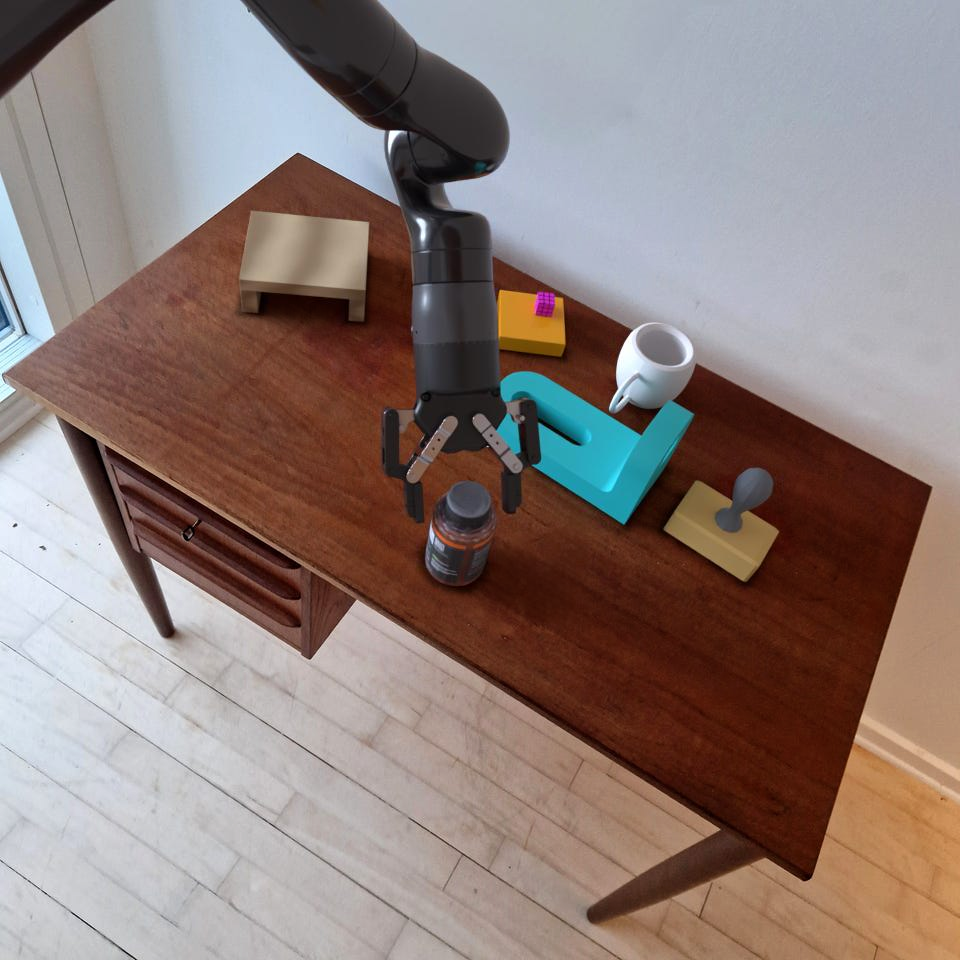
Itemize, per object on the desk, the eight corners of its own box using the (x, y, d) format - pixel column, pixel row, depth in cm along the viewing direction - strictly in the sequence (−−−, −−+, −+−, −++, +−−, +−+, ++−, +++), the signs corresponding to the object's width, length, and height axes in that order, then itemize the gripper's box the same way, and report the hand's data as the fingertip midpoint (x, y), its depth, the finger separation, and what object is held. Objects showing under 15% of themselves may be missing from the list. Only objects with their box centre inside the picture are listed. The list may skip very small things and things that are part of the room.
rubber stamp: (766, 547, 90) (819, 483, 80) (744, 584, 87) (797, 523, 77) (685, 496, 92) (728, 428, 82) (661, 531, 89) (703, 465, 79)
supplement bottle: (490, 546, 85) (511, 483, 75) (474, 596, 81) (494, 536, 72) (434, 528, 85) (447, 462, 76) (415, 577, 81) (427, 515, 72)
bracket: (663, 469, 94) (702, 401, 84) (624, 524, 89) (660, 458, 79) (515, 378, 98) (536, 304, 89) (470, 425, 93) (487, 352, 84)
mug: (635, 354, 104) (656, 307, 97) (690, 394, 101) (715, 349, 95) (575, 401, 98) (593, 355, 91) (632, 446, 95) (654, 401, 89)
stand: (242, 312, 98) (238, 279, 94) (253, 243, 104) (251, 210, 100) (363, 321, 100) (365, 290, 96) (367, 254, 106) (369, 222, 102)
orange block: (561, 357, 101) (570, 332, 98) (496, 349, 100) (502, 323, 97) (559, 310, 106) (567, 285, 102) (496, 302, 105) (502, 276, 102)
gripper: (381, 342, 68) (394, 535, 71) (547, 333, 72) (552, 517, 75) (368, 340, 75) (381, 516, 79) (520, 332, 79) (526, 501, 82)
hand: (464, 516), depth 77 cm, fingers open, 8 cm apart
